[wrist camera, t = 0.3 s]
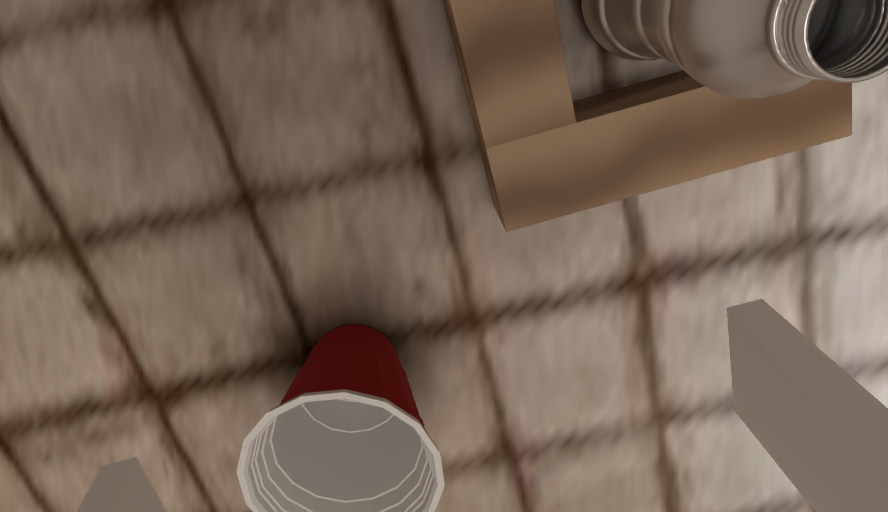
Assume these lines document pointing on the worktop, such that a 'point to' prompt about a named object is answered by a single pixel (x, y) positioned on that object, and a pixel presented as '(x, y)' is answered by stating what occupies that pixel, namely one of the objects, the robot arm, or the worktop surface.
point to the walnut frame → (609, 119)
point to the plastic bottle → (748, 40)
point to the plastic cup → (343, 436)
